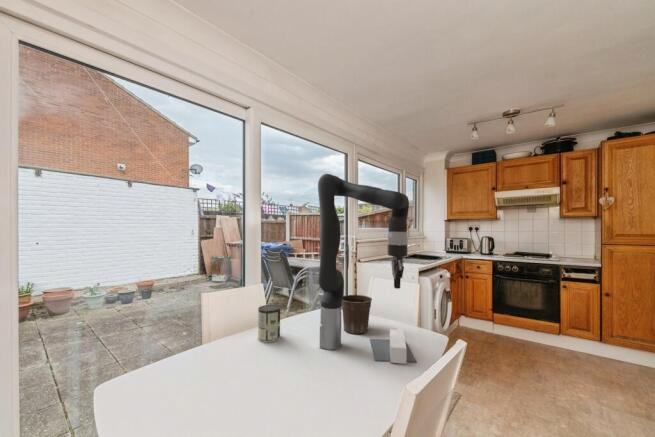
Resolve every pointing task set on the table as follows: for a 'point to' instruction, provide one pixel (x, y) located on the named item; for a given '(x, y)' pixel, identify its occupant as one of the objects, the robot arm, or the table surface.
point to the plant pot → (356, 313)
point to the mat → (387, 351)
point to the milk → (397, 346)
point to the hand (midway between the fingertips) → (397, 288)
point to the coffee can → (269, 323)
